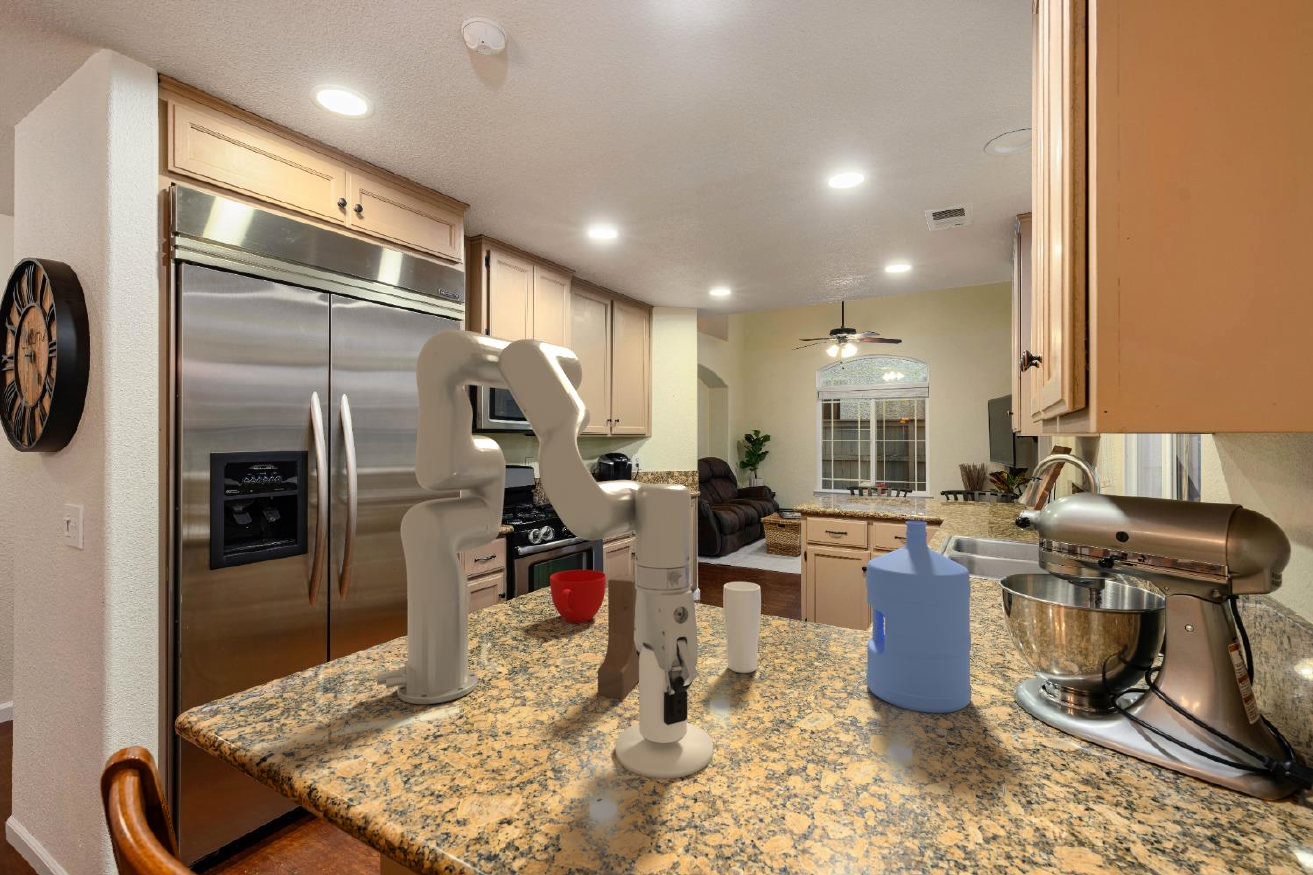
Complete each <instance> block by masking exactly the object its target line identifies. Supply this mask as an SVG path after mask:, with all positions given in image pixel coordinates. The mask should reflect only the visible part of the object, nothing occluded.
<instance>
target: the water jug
mask: <svg viewBox="0 0 1313 875" xmlns="http://www.w3.org/2000/svg"><path fill="white" fill-rule="evenodd" d="M905 525H906V531H905V536H906V537H905V538H906V539H905V540H906V541H905V545H903V547H900V548H898V549H895V550H893V551H890V552H888V553H887V552H886V553H885V554H882V555H880V556H878V557H874V558H872V559H870V560H869V561H868V562H867V564H866V574H865V584H866V603H867V604H868V606H870V607H871V609H872V637H871V638H870V639H869V640H868V642H867V645H866V649H867V651H866V652H867V657H866V659H867V662H866V663H867V666H866V667H867V668H866V672H865V673H866V675H865V676H866V684H867V687H868V689H869V690H870V692H871V693H872V694H873V695H875V696H876V697H877V698H879V699H880V700H882V701H884V702H886V703H888V704H890V705H893V706H896V707H898V708H901V709H906V710H910V711H915V712H920V713H927V714H928V713H929V714H930V713H931V714H946V713H954V712H957V711H960V710H962V709H964V708H966V707H967V706H968V705H969V704H970V702H971V701H972V684H971V649H972V648H971V647H972V636H971V629H970V628H971V622H970V621H971V615H970V613H971V610H970V606H971V602H970V601H971V600H970V599H971V593H972V590H971V587H972V586H971V581H970V571H969V568H967V567H965V566H964V565H962V564H960V563H958V562H956V561H955V560H952V559H950V558H948V557H947V556H944V555H942V554H940V553H939V552H936V551H934V550H933V549H931V548H930V547H929V546H928V544H927V537H928V532H927V528H926V527H927V525H928V522H926V521H922V520H907V521H905Z"/></svg>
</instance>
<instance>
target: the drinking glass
mask: <svg viewBox="0 0 1313 875" xmlns="http://www.w3.org/2000/svg"><path fill="white" fill-rule="evenodd" d="M722 596H723V597H722V600H723V601H722V602H723V603H722V604H723V606H722V607H723V620H724V629H725V641H726V652H727V656H726V657H727V658H726V660H727V667H728V668H729V670H731V671H733V672H734V673H739V674H748V673H752V672H754V671H756V669H757V668H758V652H759V651H758V650H759V649H758V648H759V638H760V625H761V624H760V623H761V613H762V593H761V586H760V585H759V584H757V583H755V582H750V581H749V582H748V581H730V582H727V583H725V584H723V595H722Z"/></svg>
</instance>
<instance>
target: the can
mask: <svg viewBox="0 0 1313 875" xmlns="http://www.w3.org/2000/svg"><path fill="white" fill-rule="evenodd" d="M642 645H643V648H642V650H641V652H640V656H639V681H638V706H639V707H638V723H639V731H640V734H641V735H642V736H643V738H644V739H646V740H647V741H649V742H652V743H656V744H671V743H675V742H677V741H679V740H681V739H682V738H683V737H684V736H685V735H686V733H687V723H688V718H687V719H686V720H685V721H682V722H678V723H674V724H670V725H667V724H665V723H664V692H667V688H666V682H665V671H664V670H663V669H661V668H660V667H659V665H658V662H657V659H656V657H655V655H654V650H653V649H650V648H647V647H645V646H644V643H642ZM675 666H680V663H679V660H674V662H672V667H675ZM679 676H680V671H676V672H672V677H673V682H674V680H675V679H676V678H677V677H679Z"/></svg>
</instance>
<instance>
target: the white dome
mask: <svg viewBox="0 0 1313 875" xmlns="http://www.w3.org/2000/svg"><path fill="white" fill-rule="evenodd" d="M713 755H714V744H713V740H712V738H711V735H709V733H708V732H707V731H706V730H704V729H702V728H701V727H699V726H697V725H695V724H692V723H689V722H687V733H686V735H685V736H684V737H683V738H682V739H681V740H679V741H677V742H675V743H671V744H656V743H652V742H649V741H647V740H646V739H644V738H643V736H642V735H641V734H640V731H639V722H638V723H636V724H634V725H631V726H629V727H627V728H626V729H624V730H623V731H621V733H619V735H618V736H617V738H616V741H615V757H616V760H617V761H618V763H619V764H620V765H621V766H622V767H623V768H625V769H626V770H628V771H629V772H631V773H634V774H636V775H639V776H643V777H646V778H653V779H677V778H682V777H686V776H687V777H688V776H689V775H690V776H691V775H692V774H693V775H694V774H695V773H697V772H699V771H701V770H703V769H705V768H706V767H707V766H708V765H709V763H710V762H711V761H712V759H713Z"/></svg>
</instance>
